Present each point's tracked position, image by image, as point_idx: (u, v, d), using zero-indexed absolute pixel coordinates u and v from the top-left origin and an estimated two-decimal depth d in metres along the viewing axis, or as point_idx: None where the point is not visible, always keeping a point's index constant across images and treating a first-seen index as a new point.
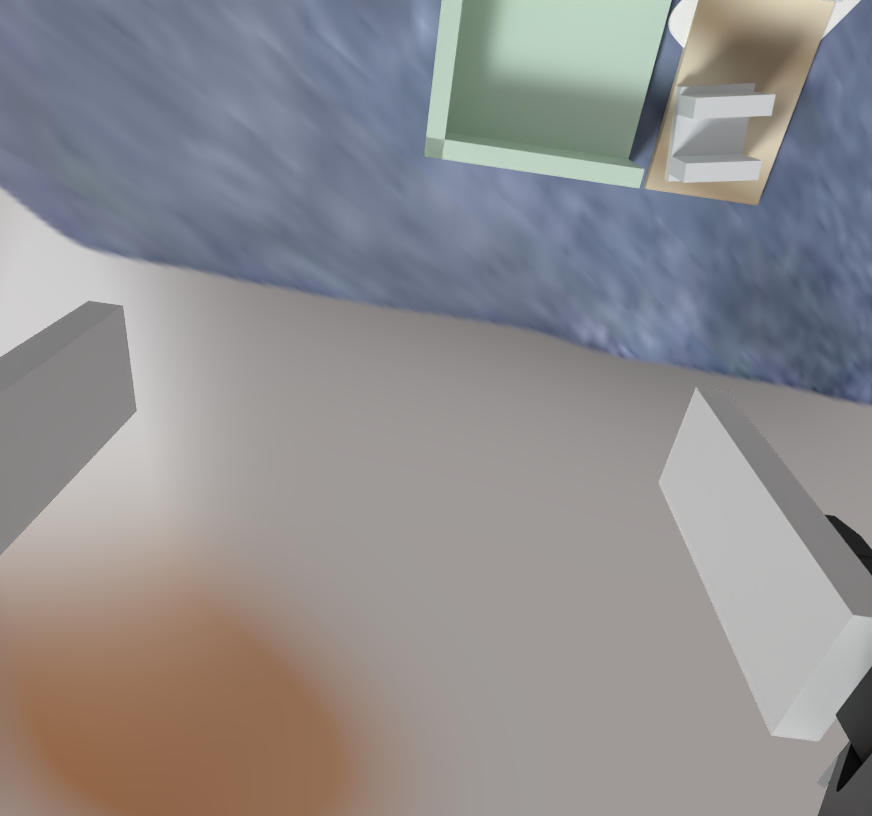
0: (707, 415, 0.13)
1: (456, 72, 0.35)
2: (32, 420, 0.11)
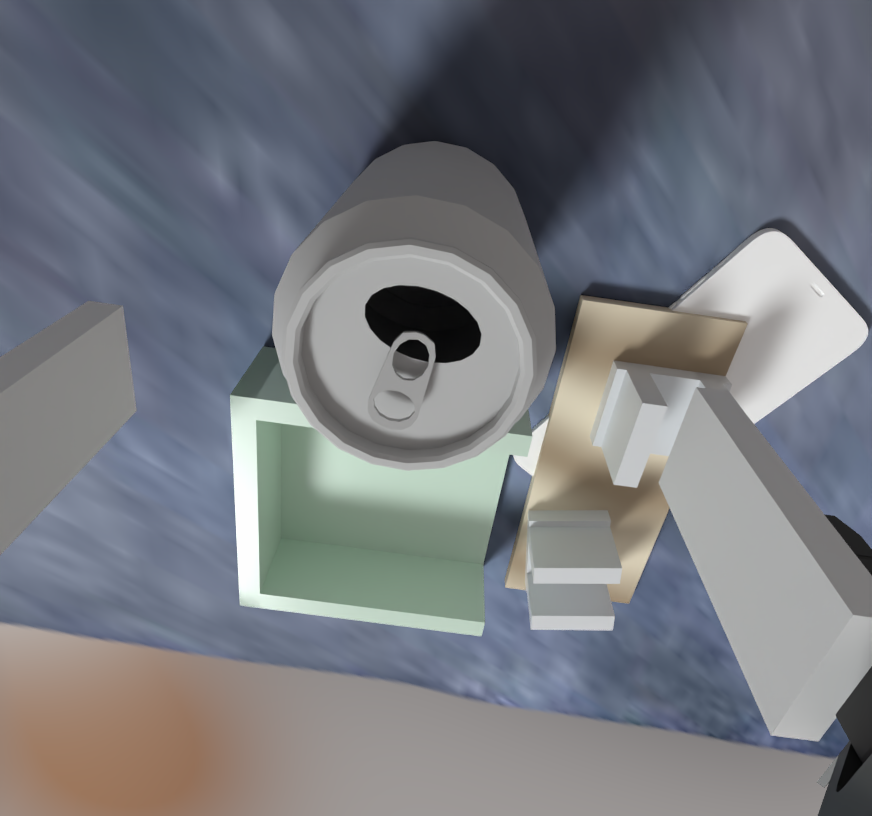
0: (707, 415, 0.13)
1: (283, 492, 0.31)
2: (32, 420, 0.11)
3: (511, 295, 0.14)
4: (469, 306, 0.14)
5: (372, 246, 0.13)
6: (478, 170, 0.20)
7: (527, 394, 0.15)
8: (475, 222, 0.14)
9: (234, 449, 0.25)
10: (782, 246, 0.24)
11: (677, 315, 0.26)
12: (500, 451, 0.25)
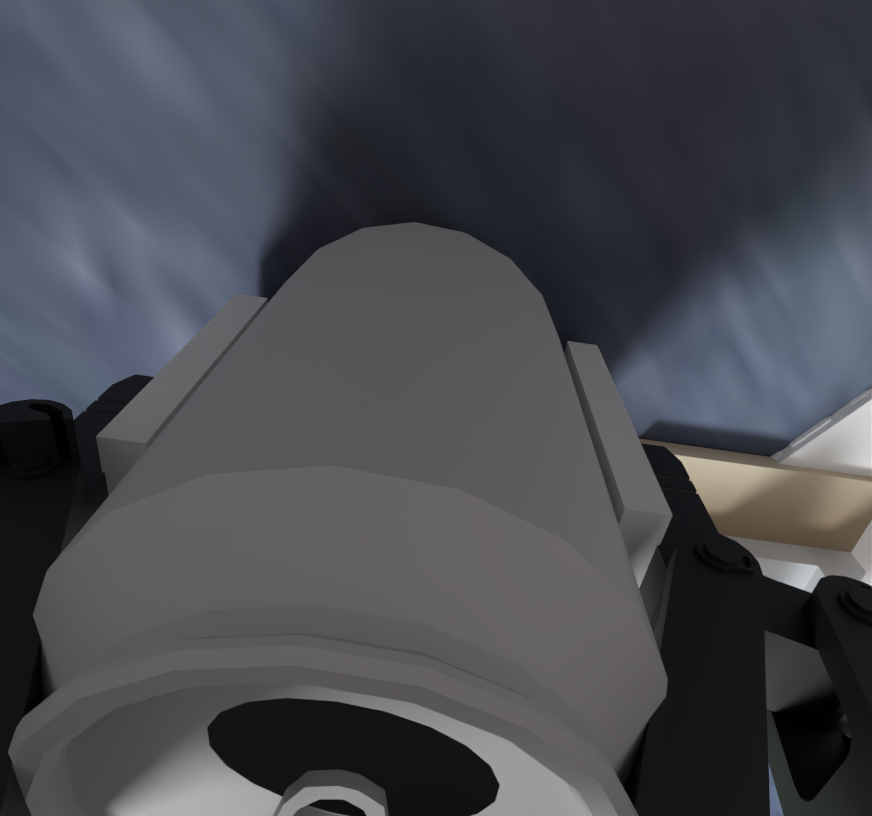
0: (570, 363, 0.14)
1: None
2: None
3: (585, 764, 0.05)
4: (471, 740, 0.06)
5: (190, 659, 0.05)
6: (486, 293, 0.11)
7: None
8: (484, 534, 0.06)
9: None
10: None
11: (787, 473, 0.17)
12: None
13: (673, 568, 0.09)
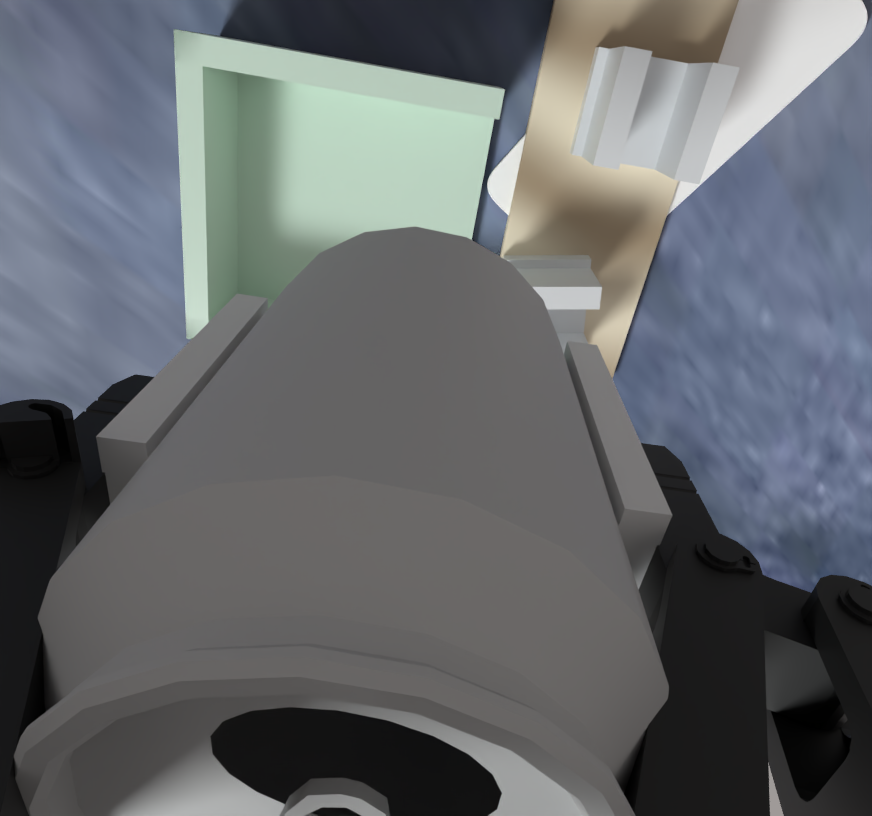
0: (571, 364, 0.14)
1: (239, 230, 0.29)
2: None
3: (587, 773, 0.05)
4: (473, 748, 0.06)
5: (193, 670, 0.05)
6: (487, 298, 0.11)
7: None
8: (486, 543, 0.06)
9: (179, 110, 0.23)
10: None
11: None
12: (469, 111, 0.23)
13: (673, 568, 0.09)
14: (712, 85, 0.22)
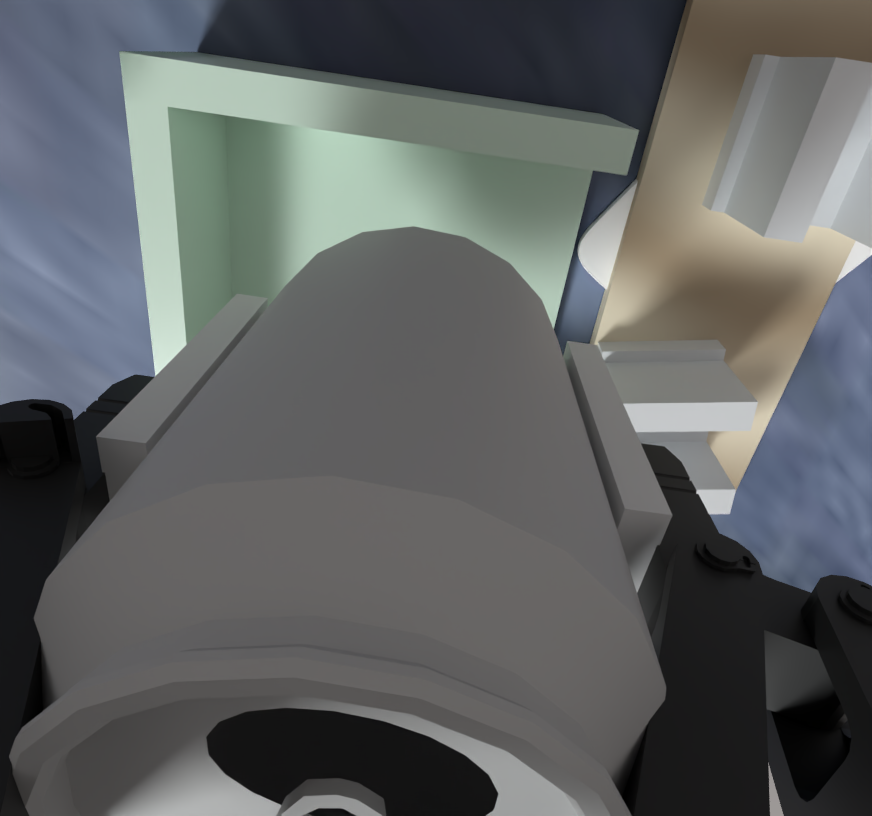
0: (571, 363, 0.14)
1: None
2: None
3: (584, 774, 0.05)
4: (469, 748, 0.06)
5: (188, 671, 0.05)
6: (485, 298, 0.11)
7: None
8: (483, 544, 0.06)
9: (136, 172, 0.15)
10: None
11: None
12: (581, 164, 0.15)
13: (673, 568, 0.09)
14: None
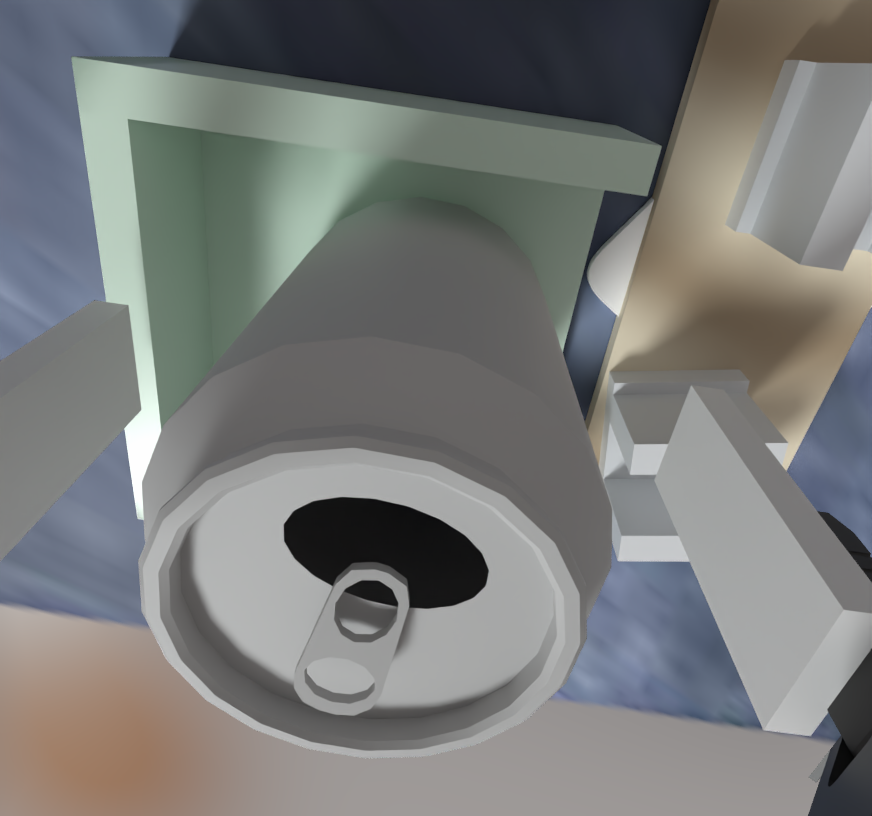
0: (702, 412, 0.13)
1: (215, 343, 0.20)
2: (39, 419, 0.11)
3: (544, 527, 0.07)
4: (468, 530, 0.08)
5: (284, 448, 0.07)
6: (481, 248, 0.13)
7: (568, 668, 0.09)
8: (477, 384, 0.08)
9: (94, 192, 0.14)
10: None
11: None
12: (596, 184, 0.13)
13: None
14: None
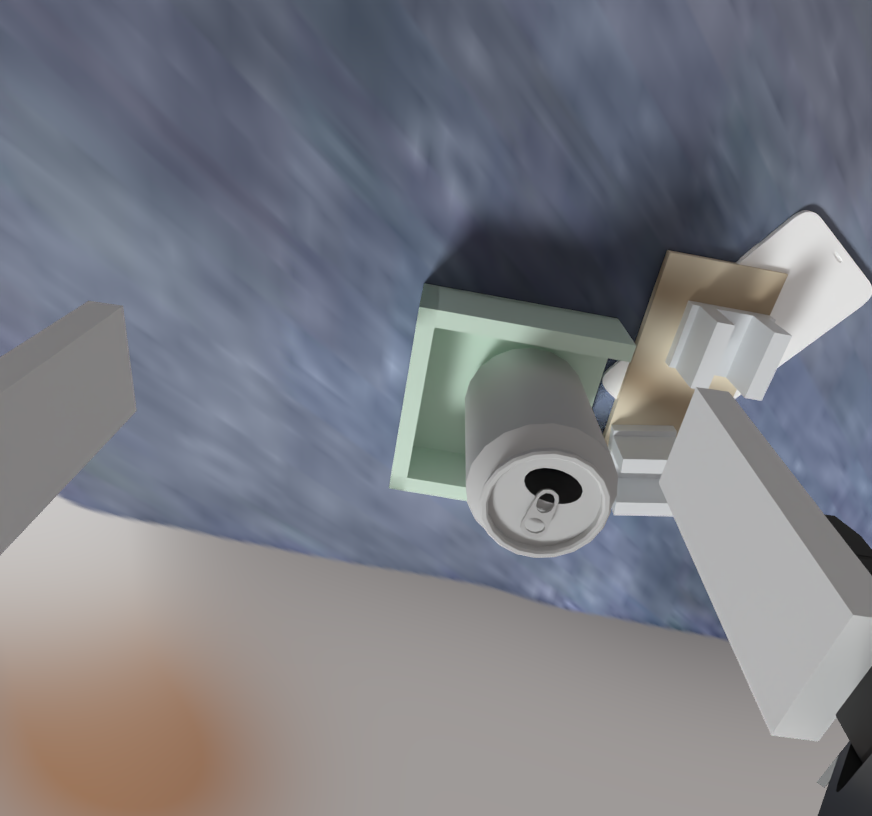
0: (707, 415, 0.13)
1: (420, 405, 0.40)
2: (32, 420, 0.11)
3: (601, 476, 0.28)
4: (578, 478, 0.29)
5: (536, 453, 0.28)
6: (566, 379, 0.34)
7: (604, 522, 0.29)
8: (582, 437, 0.29)
9: (413, 351, 0.34)
10: (815, 222, 0.34)
11: (737, 266, 0.35)
12: (611, 357, 0.34)
13: None
14: (773, 345, 0.33)
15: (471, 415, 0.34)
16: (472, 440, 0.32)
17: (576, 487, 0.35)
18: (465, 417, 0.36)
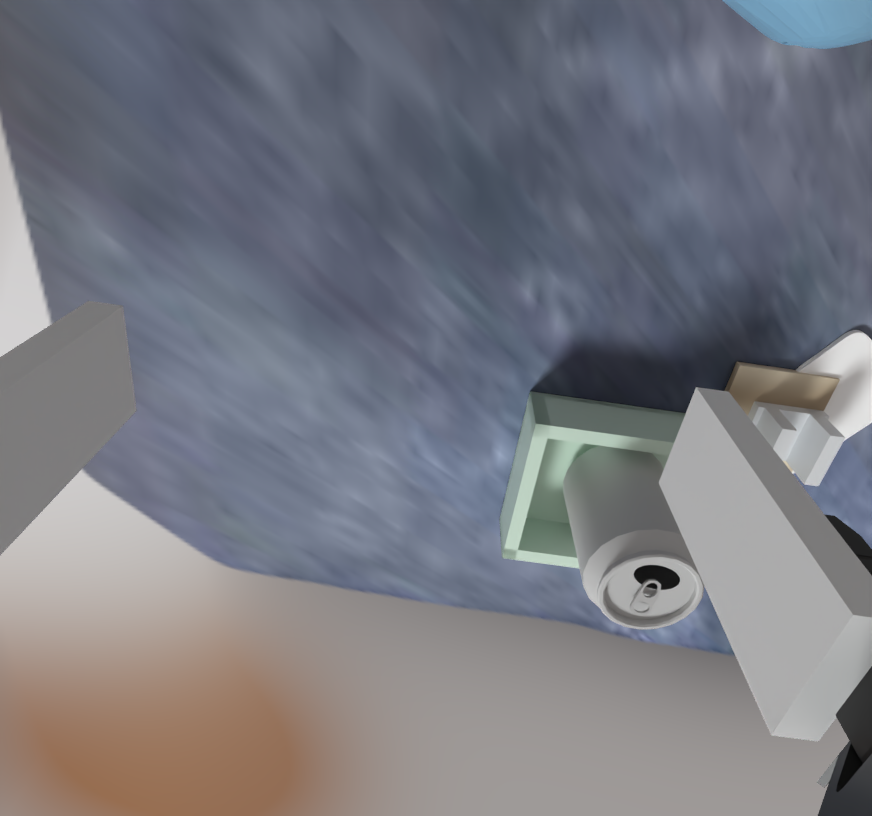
0: (707, 415, 0.13)
1: None
2: (32, 420, 0.11)
3: (697, 572, 0.36)
4: (677, 571, 0.36)
5: (646, 556, 0.35)
6: (655, 476, 0.41)
7: (697, 603, 0.37)
8: (680, 539, 0.36)
9: (528, 456, 0.42)
10: (863, 340, 0.41)
11: (797, 374, 0.42)
12: None
13: None
14: (829, 444, 0.40)
15: (577, 507, 0.42)
16: (584, 534, 0.39)
17: None
18: (568, 503, 0.44)
